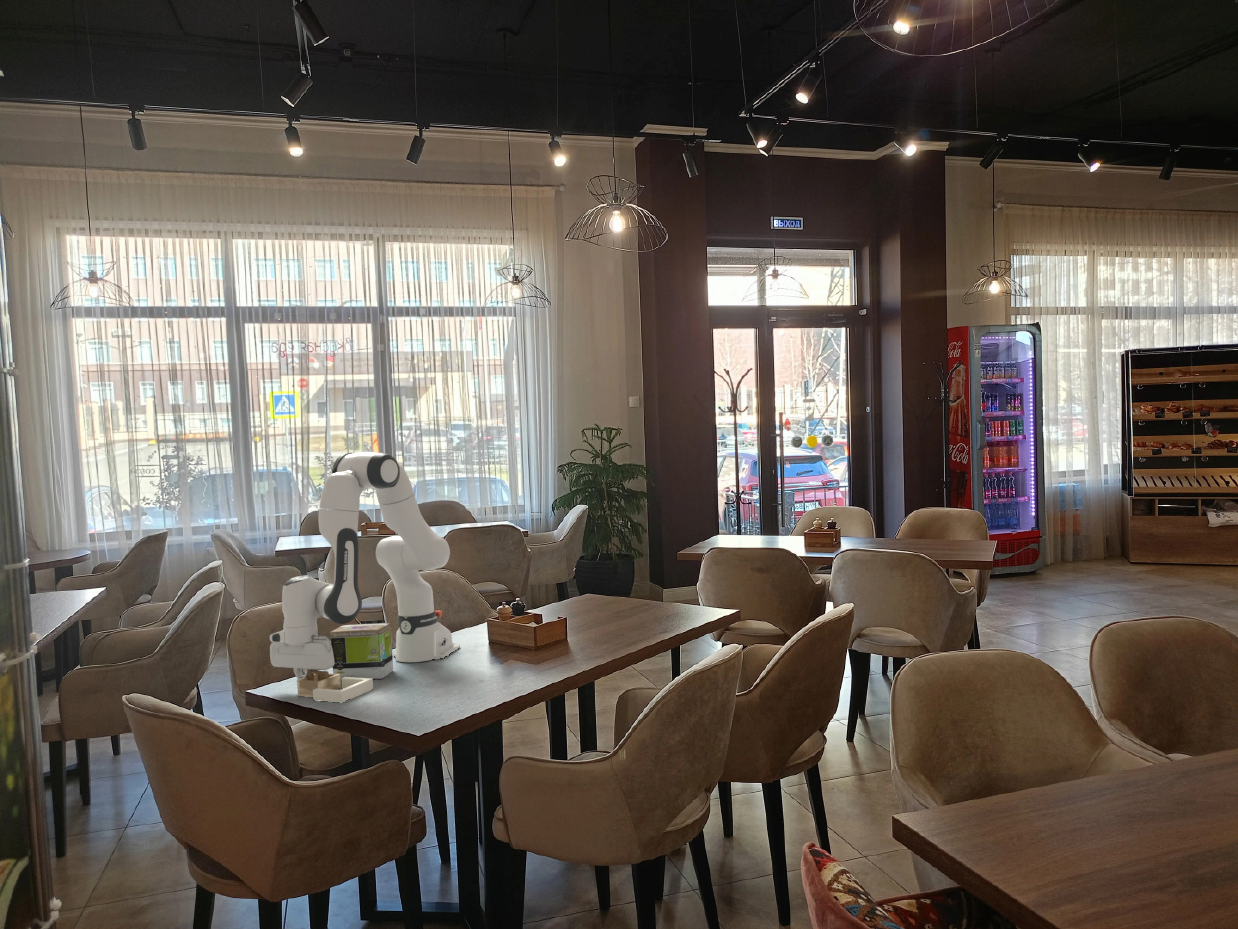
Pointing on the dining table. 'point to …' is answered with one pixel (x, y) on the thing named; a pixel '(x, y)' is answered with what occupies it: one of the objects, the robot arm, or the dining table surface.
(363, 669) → the tea box
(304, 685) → the caddy
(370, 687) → the bay
